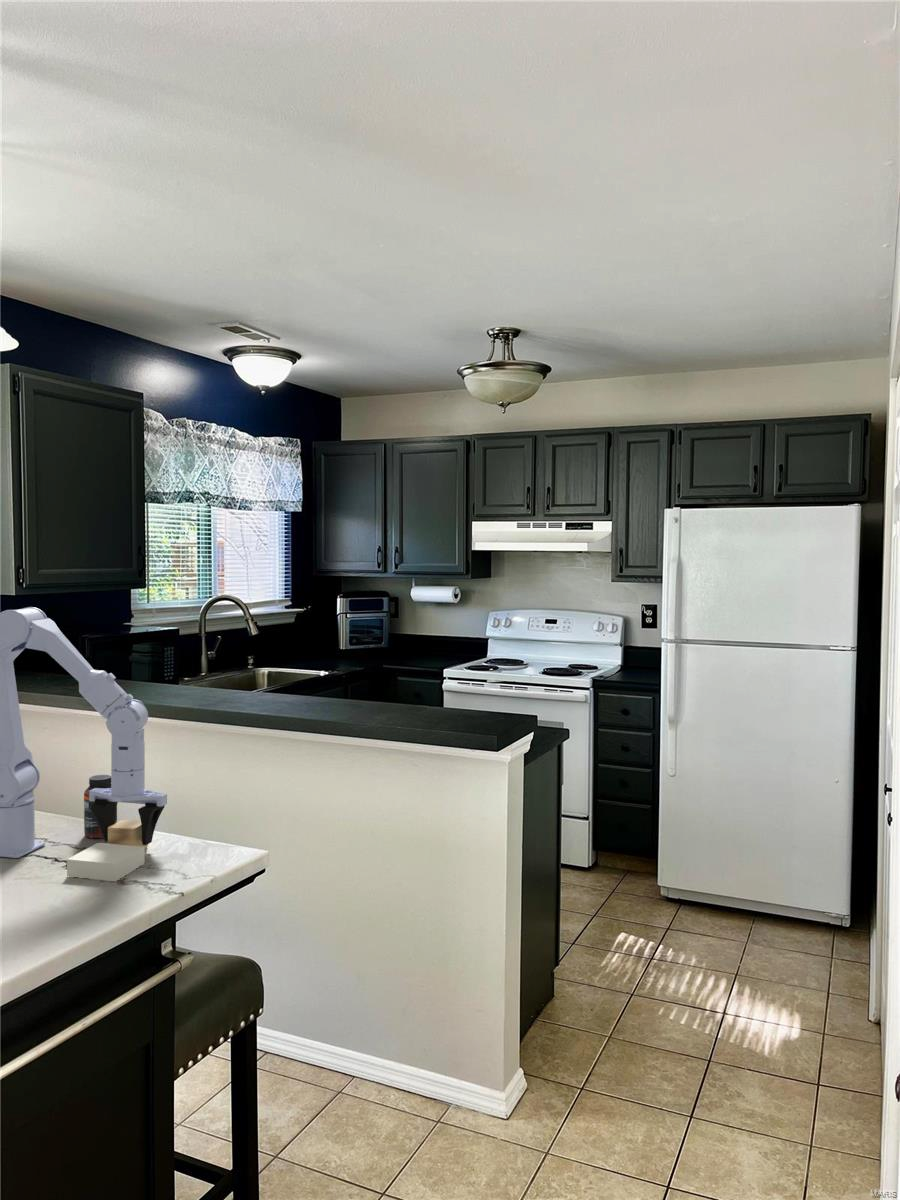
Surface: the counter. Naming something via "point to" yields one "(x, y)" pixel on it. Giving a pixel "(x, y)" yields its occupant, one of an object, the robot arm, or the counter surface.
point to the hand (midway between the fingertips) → (128, 841)
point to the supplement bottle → (90, 819)
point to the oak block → (126, 833)
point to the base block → (105, 861)
